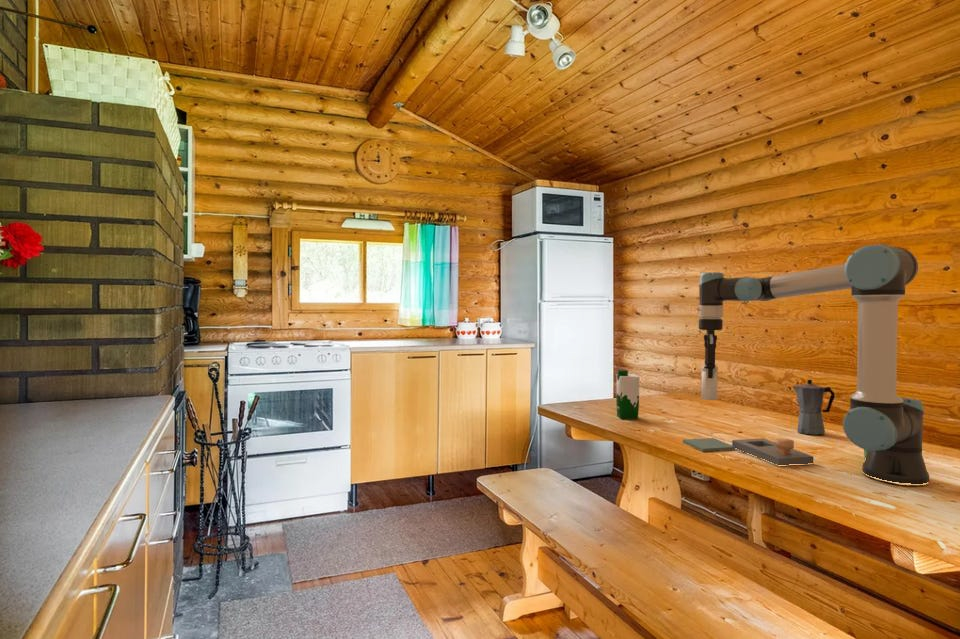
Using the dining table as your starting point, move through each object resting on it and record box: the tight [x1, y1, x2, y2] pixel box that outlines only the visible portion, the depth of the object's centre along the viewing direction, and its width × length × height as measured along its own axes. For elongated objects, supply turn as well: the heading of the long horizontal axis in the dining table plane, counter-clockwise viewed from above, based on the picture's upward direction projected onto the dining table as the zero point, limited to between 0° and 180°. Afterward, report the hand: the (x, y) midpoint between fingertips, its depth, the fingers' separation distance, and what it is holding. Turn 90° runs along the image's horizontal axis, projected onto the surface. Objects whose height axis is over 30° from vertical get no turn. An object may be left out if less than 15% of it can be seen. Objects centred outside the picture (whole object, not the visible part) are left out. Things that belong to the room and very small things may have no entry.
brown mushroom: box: [775, 437, 795, 455], centre depth 173 cm, size 5×5×6 cm
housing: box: [731, 437, 815, 465], centre depth 178 cm, size 22×12×2 cm, turn 11°
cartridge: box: [700, 365, 719, 401], centre depth 189 cm, size 5×5×11 cm
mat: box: [682, 437, 736, 453], centre depth 190 cm, size 12×12×1 cm
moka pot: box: [792, 379, 836, 436], centre depth 207 cm, size 10×15×20 cm, turn 33°
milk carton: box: [615, 369, 640, 420], centre depth 234 cm, size 9×9×20 cm
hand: (709, 386), depth 189 cm, fingers closed on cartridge, 5 cm apart
